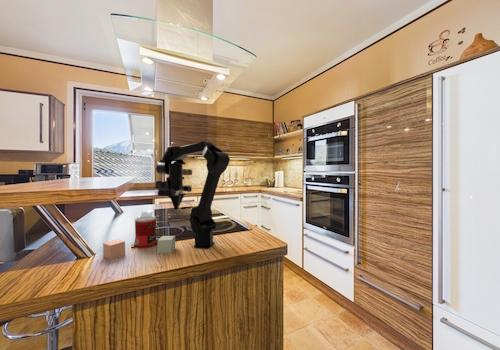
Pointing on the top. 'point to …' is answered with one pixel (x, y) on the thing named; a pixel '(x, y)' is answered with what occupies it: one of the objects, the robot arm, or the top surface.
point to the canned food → (145, 231)
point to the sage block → (166, 244)
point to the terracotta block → (113, 249)
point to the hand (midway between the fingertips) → (176, 209)
